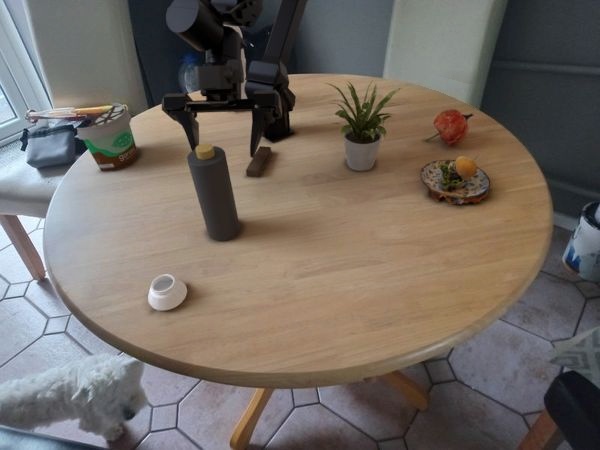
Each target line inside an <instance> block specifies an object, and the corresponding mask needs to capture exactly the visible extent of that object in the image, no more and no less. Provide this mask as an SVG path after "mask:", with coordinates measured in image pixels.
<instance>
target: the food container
mask: <svg viewBox="0 0 600 450" xmlns="http://www.w3.org/2000/svg"><path fill="white" fill-rule="evenodd" d="M110 103H111V104H110V105H111V106H112V107H110V108H109V109H108V110H107V111H106V112H104V113H102V114H100V115H97V116H96V117H95V118H94V119H93V120H92V121H91V122H90V123H89V124H88V125H87V126H85V127H76V130H77V132H76V133H77V136H78V139H79V140H82V141H83V143H84V144H85V146H86V147H87V149H88V151H89V153H90V155H91V156H92V158H93V159H94V161H95V164H96V165H97V166H98V168H99V170H100V172H112V171H117V170H121V169H123V168H125V167H128V166H130V165H131V164H133V163H134V162H136V160H137V159H138V156H139V152H138V148H137V144H136V142H135V138H134V134H133V130H132V127H131V124H130V123H131V121H132V116H131V114H130V112H129V111H128V109H127V108H126V107H125V106H124V105H123V104H121V103H118V102H110Z"/></svg>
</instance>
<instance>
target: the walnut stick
mask: <svg viewBox="0 0 600 450" xmlns="http://www.w3.org/2000/svg"><path fill="white" fill-rule="evenodd" d="M271 156H272V147H271V146H262V145H261V146H260V145H259V146H258V148H257V150H256V153H255V156H254V158H252V159H251V161H250V162H249V164H248V166H247V168H246V169H245V171H246V172H245V173H246V176H247V177H253V178H260V176H261V174H262V172H263V170H264V168H265V166H266V165H267V163H268V161H269V159H270V157H271Z"/></svg>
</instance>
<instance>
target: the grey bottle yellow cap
mask: <svg viewBox="0 0 600 450" xmlns="http://www.w3.org/2000/svg"><path fill="white" fill-rule="evenodd" d="M186 161H187V165H188V167H189V171H190V175H191V178H192V182H193V185H194V189H195V192H196V196H197V200H198V203H199V207H200V210H201V214H202V218H203V220H204V225H205V228H206V231H207V235H208V236H209V238H210V239H212V240H213V241H217V242H226V241H230V240H231V239H234V238H235V237H236V236H237V235H238V234H239V233H240V231H241V224H240V219H239V216H238V210H237V205H236V201H235V195H234V191H233V186H232V180H231V176H230V169H229V166H228V161H227V154H226V152H225V150H224V149H223V148H222V147H220V146H215V145H213V144H212V143H208V142H206V143H205V142H204V143H201V144H200V143H199V145H198V146H197V147H196V148H195V150H193V151H192V150H191V152H189V153H188V155H187V157H186Z"/></svg>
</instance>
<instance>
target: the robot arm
mask: <svg viewBox="0 0 600 450" xmlns="http://www.w3.org/2000/svg"><path fill="white" fill-rule="evenodd" d="M308 1H309V0H280V5H279V7H278V11H277V13H276V17H275V20H274V23H273V25H272V28H271V29H272V30H271V32H270V36H269V38H268V42H267V45H266V49H265V51H264V55H263V57H262V58H261V59H260V60H251V62H250V64H249V68H248V71H247V73H246V78H245V80H246V83H245V87H244V90H245V94H246V96H247V99H241V83H243V82H244V72H243V65H242V60H241V49H244V50H245V49H247V46H248V45H247V43H246V40H245V39H244V38H241V36H240V34H239V32H237V31H235V30H234V29H233V28H232V27H229V26H237V27H239V28H249V29H250V28H252V27H254V26H255V25H256V23H257V21H258V20H259V17H260V16H261V14H262V12H263V10H264V0H173V1H172V2H171V4H170V6H167V9H166V14H165V22H166V26H167V27H168V29H169V30H170V31H171V32H172V33H174V34H175V35H176V36H178V37H179V38H181V39H182V40H183V41H185V42H186V43H187V44H188V45H190V46H191V47H193V48H194V49H195V50H197V51H199V52H205V62H203V65H200V66H199V65H198V66H197V65H196V66H193V72H194V73H193V74H194V83H195V84H194V85H195V90H196V91H199V90H200V95H201V96H202V97H205V99H201V100H193V98H191V96H190V95H189V94H188V93H187V92H180V93H179V92H178V93H176V92H175V93H165V95H164V96H163V98H162V99H161V111H162V112H163V113H164V114H166V115H167V116H168V117H169V118H171V120H173V121H175V122H177V123H178V124H179V125H181V126H182V129H183V131H184V133H185V136H186V138H187V141H188V144H189V147H190V150H191V152H192V151H193V150H195V148H196V147H197V146H198V145H200V122H199V121H198V120H197V119H196V118H198V114H201V113H202V114H203V113H204V114H205V113H231V112H251V132H250V141H249V142H250V143H249V155H250V158H252V159H253V158H254V156H255V154H256V152H257V150H258V149H259V146H260V142H261V140H262V138H264V139H265V140H268V142H271V143H274V142H277V141H279V140H282V139H283V138H286V137H288V136H291V135H293V134H295V129H293V128H291V122H290V121H291V120H290V112H293V111H294V107H295V106H296V98H297V96H296V94H295V93H293V91H292V90H291V89H290V88H289V87H290V79H289V74H288V70H287V66H288V63H289V59H290V57H291V53H292V50H293V48H294V44H295V40H296V39H297V35H298V33H299V32H298V31H299V28H300V25H301V22H302V18H303V16H304V12H305V9H306V6H307V3H308ZM224 25H227V26H224Z"/></svg>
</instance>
